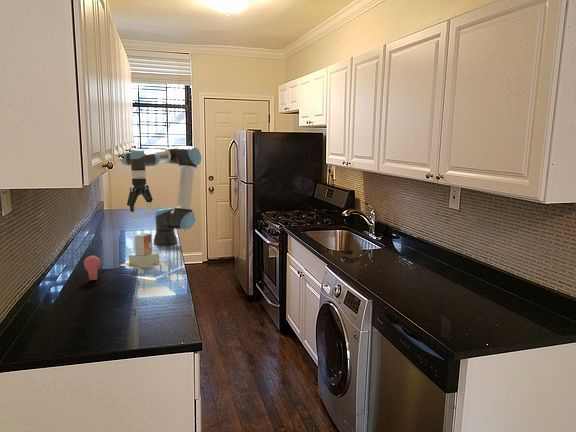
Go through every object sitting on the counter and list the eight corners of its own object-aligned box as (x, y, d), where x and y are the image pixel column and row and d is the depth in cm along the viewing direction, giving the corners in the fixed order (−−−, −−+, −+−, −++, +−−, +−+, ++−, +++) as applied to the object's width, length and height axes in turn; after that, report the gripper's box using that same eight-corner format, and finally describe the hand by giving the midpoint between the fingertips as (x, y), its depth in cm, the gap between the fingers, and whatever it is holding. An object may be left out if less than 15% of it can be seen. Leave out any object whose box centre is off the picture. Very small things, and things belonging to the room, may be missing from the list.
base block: (141, 259, 243) (140, 250, 242) (159, 261, 239) (159, 252, 239) (129, 264, 234) (128, 254, 233) (148, 266, 230) (147, 256, 229)
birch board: (141, 259, 248) (141, 257, 248) (168, 262, 242) (168, 260, 242) (119, 267, 231) (119, 265, 231) (148, 270, 225) (148, 268, 225)
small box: (144, 255, 231) (143, 236, 230) (134, 255, 233) (134, 235, 231) (152, 252, 239) (151, 233, 237) (143, 251, 240) (142, 233, 239)
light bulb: (94, 277, 213) (93, 253, 211) (104, 279, 210) (103, 255, 208) (81, 281, 207) (80, 256, 205) (91, 283, 204) (90, 258, 202)
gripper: (146, 175, 256) (148, 211, 259) (118, 179, 232) (121, 218, 236) (157, 176, 253) (159, 212, 257) (130, 180, 230) (132, 219, 234)
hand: (141, 215), depth 247 cm, fingers open, 13 cm apart
